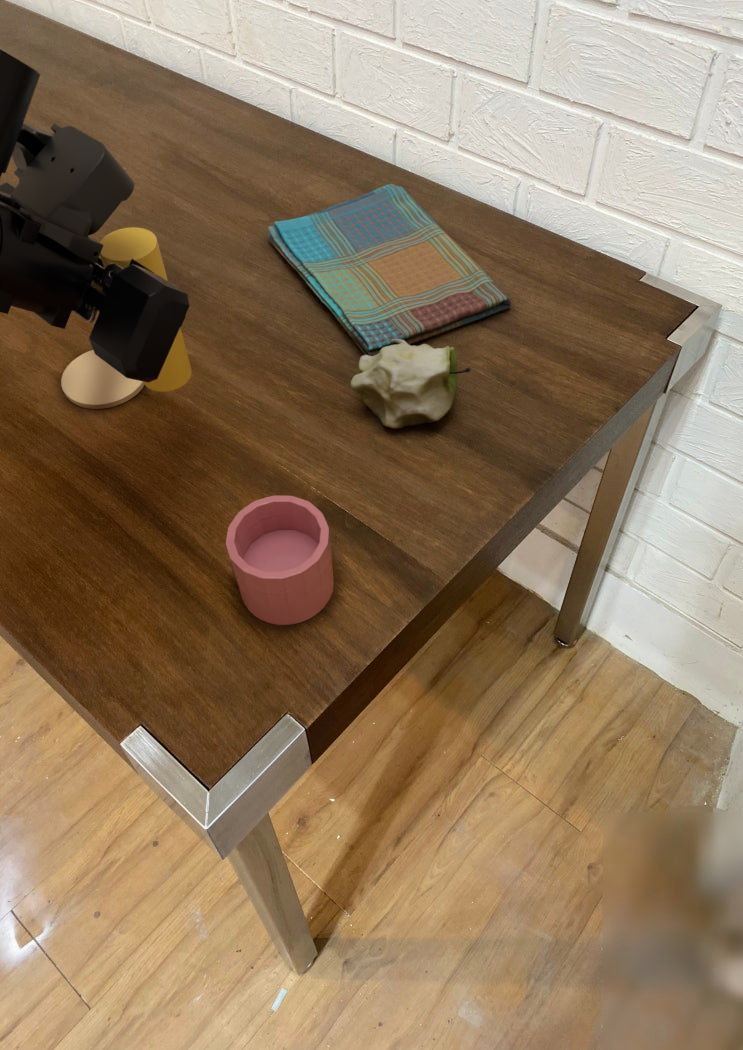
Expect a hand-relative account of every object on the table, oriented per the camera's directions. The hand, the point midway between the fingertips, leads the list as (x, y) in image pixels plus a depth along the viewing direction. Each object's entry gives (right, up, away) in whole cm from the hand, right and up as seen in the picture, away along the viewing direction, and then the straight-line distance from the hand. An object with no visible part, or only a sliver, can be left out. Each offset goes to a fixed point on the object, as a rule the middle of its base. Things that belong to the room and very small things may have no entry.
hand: (164, 308), depth 59 cm
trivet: (-10, -3, +15) cm, 18 cm away
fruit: (+19, -6, +12) cm, 24 cm away
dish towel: (+17, +10, +24) cm, 31 cm away
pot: (+9, -21, +1) cm, 23 cm away
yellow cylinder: (-1, -4, +4) cm, 6 cm away
